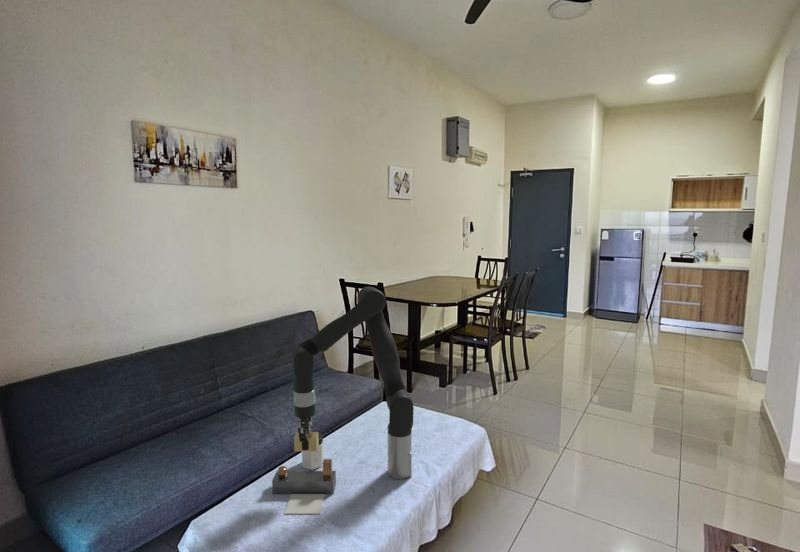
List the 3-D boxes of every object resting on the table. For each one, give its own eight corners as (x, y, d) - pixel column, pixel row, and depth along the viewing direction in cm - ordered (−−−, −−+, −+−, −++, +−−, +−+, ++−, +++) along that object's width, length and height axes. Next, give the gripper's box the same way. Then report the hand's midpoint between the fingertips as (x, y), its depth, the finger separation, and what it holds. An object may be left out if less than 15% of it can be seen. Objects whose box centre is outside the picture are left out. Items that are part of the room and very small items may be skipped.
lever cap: (318, 444, 163) (318, 431, 163) (316, 451, 159) (316, 438, 158) (297, 444, 163) (296, 432, 163) (294, 451, 159) (293, 438, 158)
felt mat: (324, 495, 160) (324, 494, 160) (320, 514, 150) (320, 513, 150) (291, 495, 160) (291, 494, 160) (284, 514, 150) (284, 513, 150)
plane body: (335, 483, 167) (335, 456, 165) (333, 494, 161) (332, 466, 159) (277, 483, 167) (276, 456, 165) (272, 494, 160) (271, 465, 159)
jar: (306, 472, 174) (305, 444, 172) (298, 462, 180) (297, 435, 179) (327, 465, 179) (326, 437, 177) (319, 456, 185) (318, 429, 183)
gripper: (311, 410, 152) (313, 456, 154) (318, 393, 166) (320, 435, 168) (289, 410, 151) (291, 457, 154) (298, 393, 166) (300, 436, 168)
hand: (306, 445), depth 161 cm, fingers closed on lever cap, 4 cm apart
